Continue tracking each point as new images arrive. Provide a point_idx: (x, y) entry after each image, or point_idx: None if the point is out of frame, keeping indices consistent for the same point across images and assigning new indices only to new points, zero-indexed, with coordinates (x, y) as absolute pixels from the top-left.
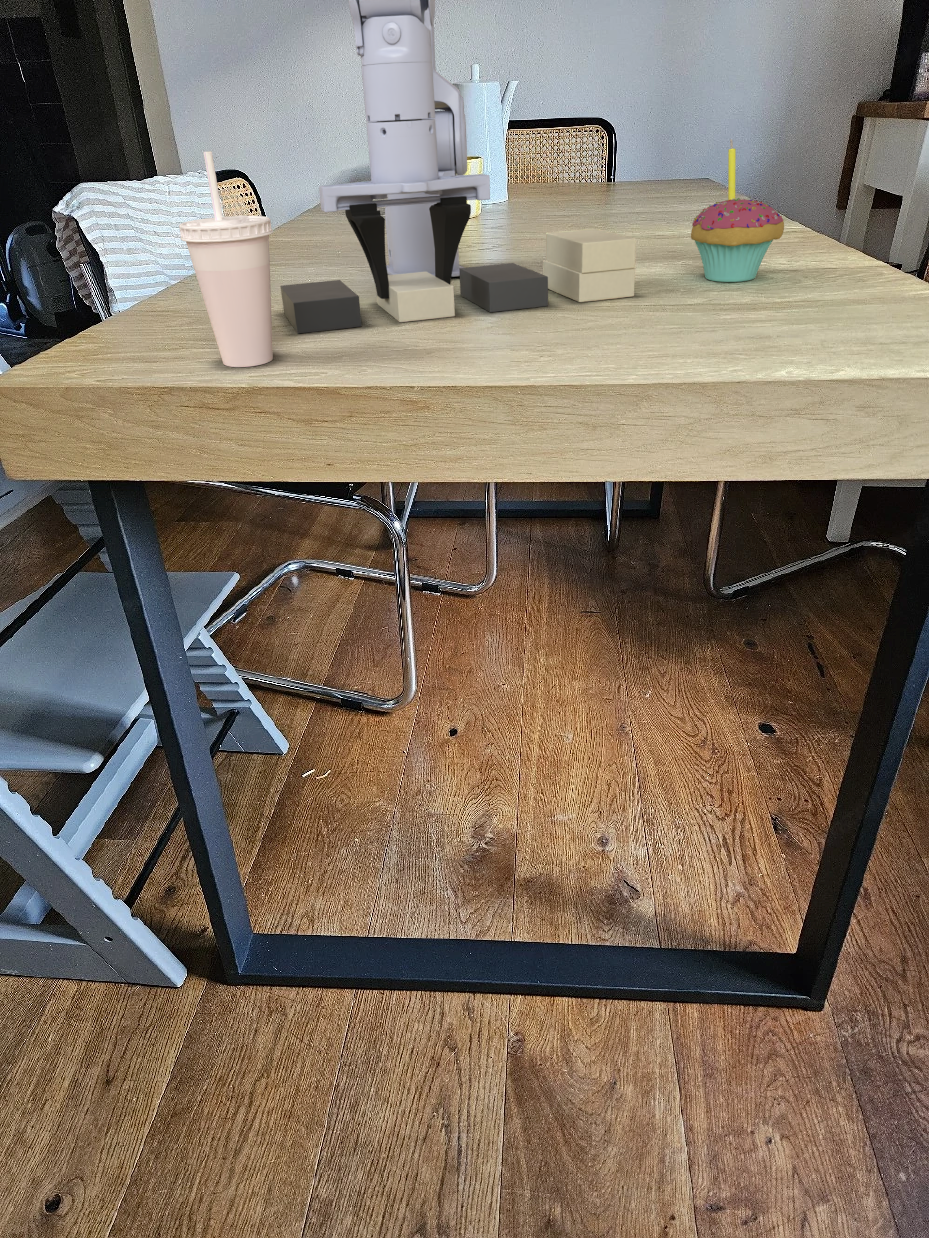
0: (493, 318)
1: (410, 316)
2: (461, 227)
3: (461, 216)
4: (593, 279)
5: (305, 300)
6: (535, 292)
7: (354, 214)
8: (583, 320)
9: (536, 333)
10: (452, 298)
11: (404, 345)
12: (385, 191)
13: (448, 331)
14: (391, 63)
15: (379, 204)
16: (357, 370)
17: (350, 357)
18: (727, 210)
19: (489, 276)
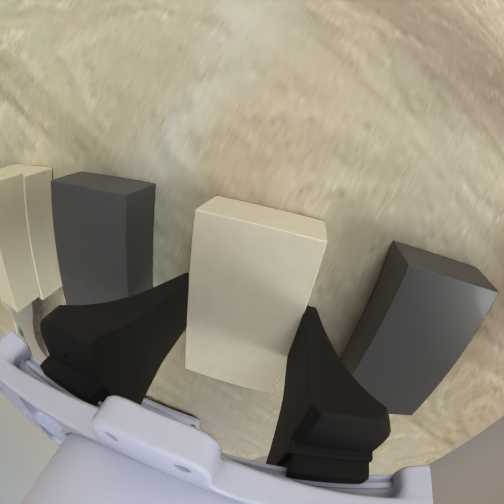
0: (169, 139)
1: (302, 218)
2: (91, 307)
3: (73, 314)
4: (21, 172)
5: (482, 294)
6: (79, 177)
7: (365, 455)
8: (89, 60)
9: (173, 8)
10: (207, 203)
11: (397, 55)
12: (279, 486)
13: (284, 90)
14: None
15: (271, 472)
16: (485, 10)
17: (484, 66)
18: None
19: (109, 251)
